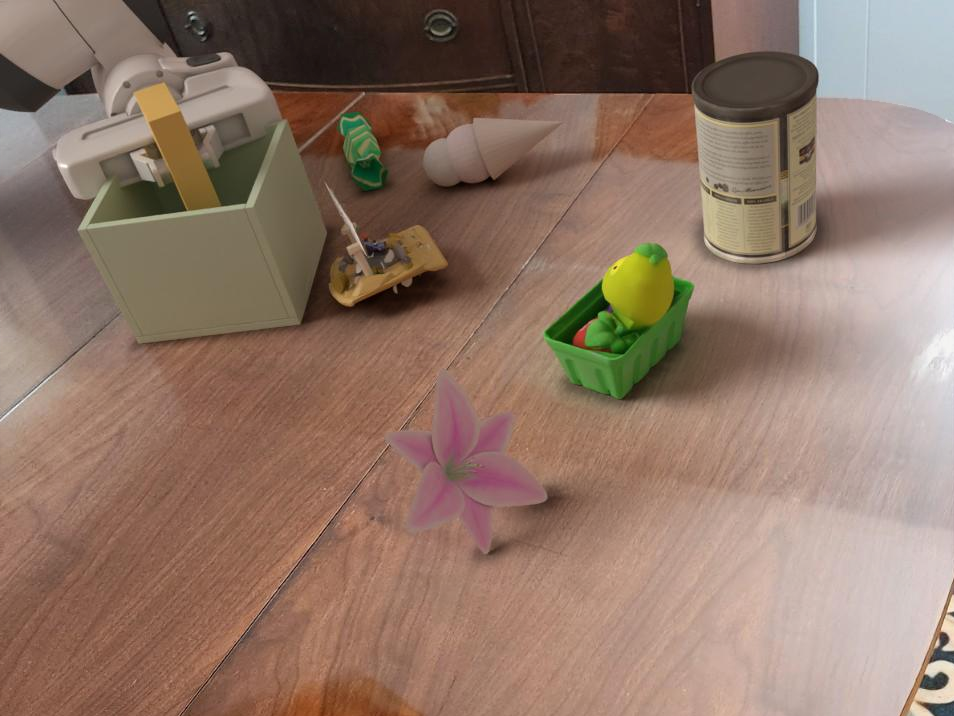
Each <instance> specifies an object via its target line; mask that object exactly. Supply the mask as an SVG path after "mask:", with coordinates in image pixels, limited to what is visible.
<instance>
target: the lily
mask: <svg viewBox="0 0 954 716" xmlns="http://www.w3.org/2000/svg"><path fill="white" fill-rule="evenodd" d="M434 392H435V394H434V402H433V403H434V404H433V412H432V413H433V414H432V419H431V420H432V422H431V431H430V430H425V429H404V430H403V429H402V430H393V431H389V432H386V433H385V434H383V437H384V440H385V441H386V442H387V443H388V444H389V445H390V447H392V449H394V450H395V451H396V452H397V453H398V454H399V455H400V456H401V457H402V458H403V459H404V460H406V462H407V463H409V464H410V465H411V466H412V467H413V468H415V469H416V470H417V471H419V472H420V473H421V475H420V477H419V480H418V484H417V486H416V491H415V493H414V496H413V498H412V502H411V504H410V508H409V511H408V513H407V517H406V522H405V529H406V533H409V534H412V535H413V534H418V533H423V532H426V531H429V530H432V529H434V528H437V527H440V526H442V525H444V524H447V523H449V522H452V521H453V520H455V519H457V518H459V520H460V521H461V523H462V525H463V526H464V528H465V529H466V531H467V533H468V535H469V536H470V537H471V539H472V540H473V542H474V543H475V545H476V546H477V548H479V550H480V551H481V552H482V554H484V555H488V553H489V552H490V550H491V545H492V540H493V535H494V534H493V533H494V523H495V522H494V521H495V515H494V514H495V510H494V507H496V508H497V507H502V508H508V507H522V506H530V505H531V506H532V505H538V504H541V503H544V502H546V501H547V500H548V499H549V498H548V494H547V491H546V490H545V488H544V487H543V485H542V484H541V482H539V480H537V478H536V477H535V476H534V475H533V474H532V473H531V472H530V471H529V470H528V469H527V468H526V467H525V466H524V465H522V463H520V462H519V461H518V460H517V459H515V458H514V457H512V456H511V455H509V454H507V453H506V452H507V448H508V446H509V444H510V440H511V438H512V434H513V431H514V426H515V422H516V415H515V414H516V413H515V412H514V411H512V410H509V411H503V412H500V413H495V414H493V415H490V416H488V417H484V418H483V419H481V420H480V419H479V416H478V413H477V410H476V408H475V406H474V404H473V402H472V401H471V399H470V397H469V396H468V395H467V393H466V391H465V390H464V388H463V387H462V386H461V384H460V382H458V380H457V379H456V378H455V377H454V375H452V373H450V371H449V370H448V369H446V368H443V367H441V369H439V370H438V374H437V378H436V384H435V391H434Z"/></svg>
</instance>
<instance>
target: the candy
mask: <svg viewBox="0 0 954 716" xmlns="http://www.w3.org/2000/svg"><path fill="white" fill-rule="evenodd" d="M336 130H337V132H339V134H340V135H341V136H342V137H343V138H345V139H344V142H343V145H342V150H343V152H344V155H345V159H346V162H347V164H348V166H350V167H351V168H352V169H351V179H352V180H353V181H354V182H355V183H356V184H357V185H358V186H359V187H360V188H361V189H362V190H363V191H364V192H367V191H372V190H378V189H382V188H384V187H385V184H386V181H387V178H388V175H389V171H388V169H387V168H386V167H385V165H383V164H382V162H381V160H380V157H381V155H382V151H381V149H380V146H379V143H378V141H377V137H375V136H374V134H373V132H372V123H371V122H370V121H369V120H368V119H367V118H366V117H365V116H364V115H363V114H362V113H361V112H360V111H359V110H357V111H352V112H345V113H341V114H340V115H339V120H338V123H337V126H336Z"/></svg>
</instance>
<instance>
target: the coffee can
mask: <svg viewBox="0 0 954 716" xmlns="http://www.w3.org/2000/svg"><path fill="white" fill-rule="evenodd" d="M819 73H820V72H819V70H818V67H817V66H816V65H815V64H814V63H813V62H812V61H811V60H809V59H807V58H805V57H803V56H800V55H797V54H794V53H789V52H785V51H784V52H783V51H774V50H771V51H770V50H769V51H768V50H765V51H751V52H744V53H739V54H736V55H731V56H728V57H726V58H723V59H719V60H717V61H715V62H713V63H710V64H709V65H707V66H706V67H705V68H703V69H701V70H700V71H699V72H698V74H697V75H695V77H694V78H693V80H692V83H691V97H692V100H693V105H694V117H695V120H694V121H695V132H696V142H697V143H696V145H697V156H698V157H697V158H698V168H699V180H700V181H699V182H700V193H701V195H700V196H701V206H702V207H701V208H702V219H703V220H702V221H703V240H704V244H705V246H706V247H707V249H708V250H709V251H710V252H711V253H712V254H714V255H715V256H716V257H718V258H720V259H724V260H726V261H728V262H731V263H737V264H747V265H761V264H767V263H775V262H779V261H782V260H785V259H789V258H791V257H794V256H795V255H797V254H800V253H801V252H802V251H803V250H805V249H806V248H807V247H808V246H810V244H811V243H812V242H813V240H814V239H815V236H816V234H817V231H818V227H817V225H818V224H817V133H818V132H817V129H818V128H817V125H818V124H817V122H818V121H817V119H818V118H817V109H818V107H817V106H818V105H817V104H818V101H817V100H818V99H817V98H818V97H817V95H818V94H817V91H818V90H817V89H818V86H819V81H820V80H819V78H820V74H819Z"/></svg>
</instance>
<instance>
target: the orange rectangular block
mask: <svg viewBox="0 0 954 716" xmlns="http://www.w3.org/2000/svg"><path fill="white" fill-rule="evenodd" d="M134 95H135V98H136V100H137V102H138V104H139V106H140V109H141V111H142V113H143V115H144V117H145V120H146V122H147V124H148V126H149V128H150V131H151V133H152V135H153V137H154V139H155V142H156V144H157V146H158V148H159V150H160V153H161V155H162V157H163V158H164V160H165V162H166V164H167V166H168V168H169V171H170V173H171V175H172V177H173V179H174V183H175V186H176V188H177V190H178V192H179V194H180V197H181V199H182V201H183V203H184V205H185V208H186V210H187V211H193V210H201V209H208V208H216V207H222V206H221V204H220V201H219V199H218V197H217V194H216V192H215V190H214V187H213V185H212V183H211V180H210V178H209V176H208V173H207V171H206V169H205V166H204V164H203V162H202V159H201V157H200V155H199V152H198V150H197V148H196V145H195V143H194V141H193V138H192V136H191V134H190V131H189V129H188V127H187V124H186V122H185V120H184V117H183V115H182V113H181V110H180V109H179V107H178V105H177V103H176V102H175V100H174V98H173V96H172V94H171V93H170V91H169V89H168V87H167V86H166V84H165V82H163V83H160V84H157V85H154V86H151V87H148V88H145V89H142V90H139V91H136V92H134Z"/></svg>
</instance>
